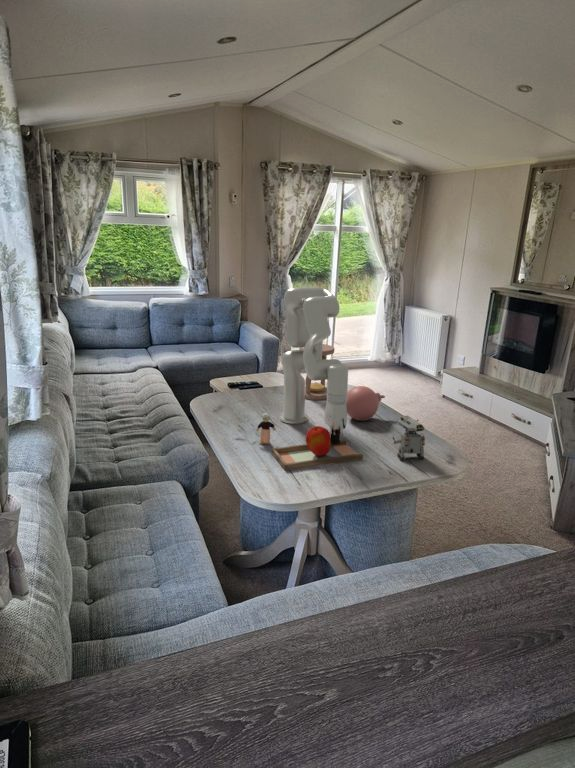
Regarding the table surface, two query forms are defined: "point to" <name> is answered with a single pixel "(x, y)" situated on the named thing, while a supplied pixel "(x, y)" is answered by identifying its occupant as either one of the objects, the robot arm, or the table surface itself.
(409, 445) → the figurine
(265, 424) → the grandmother figurine
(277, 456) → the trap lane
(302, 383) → the robot arm
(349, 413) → the balloon
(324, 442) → the apple
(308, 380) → the hourglass
